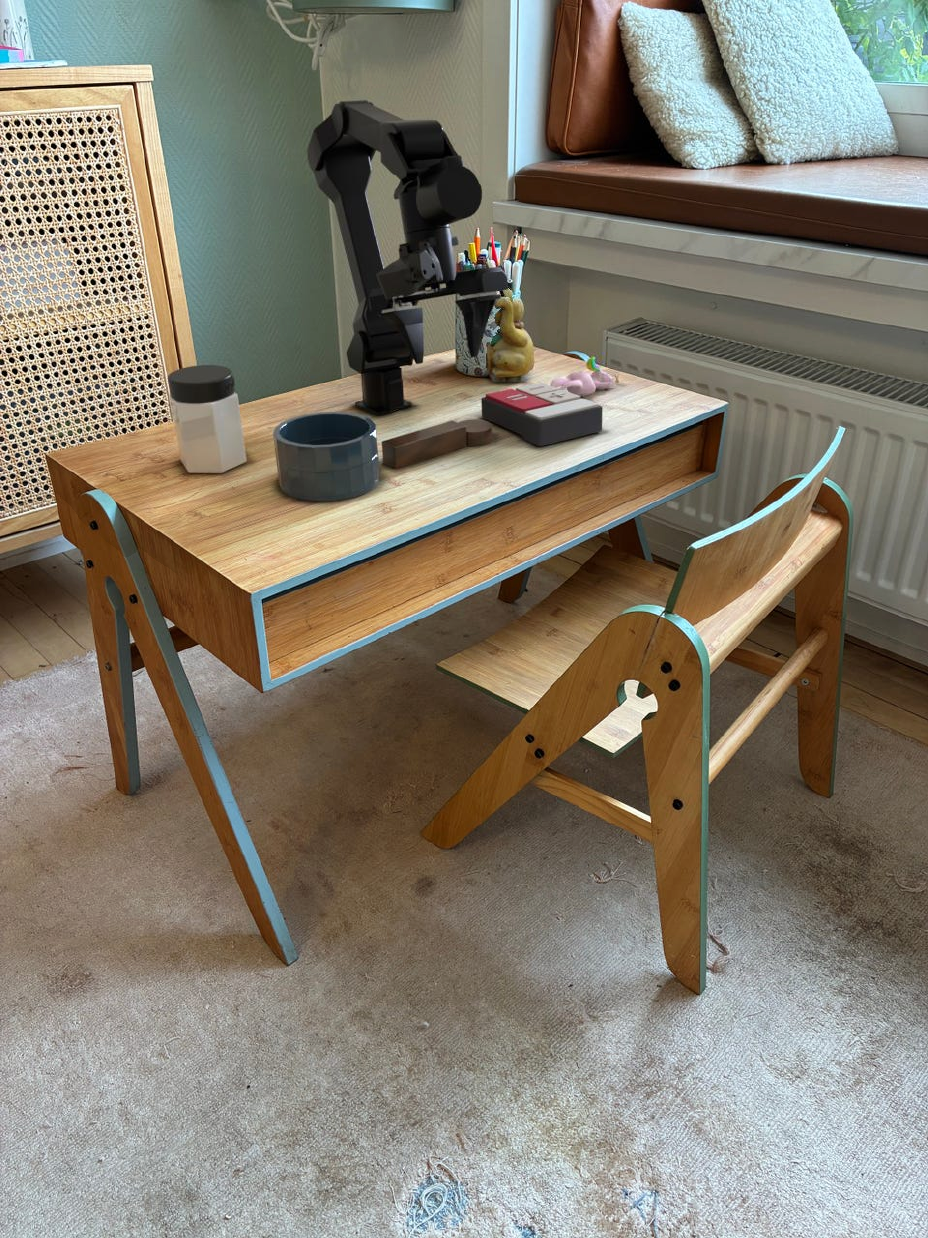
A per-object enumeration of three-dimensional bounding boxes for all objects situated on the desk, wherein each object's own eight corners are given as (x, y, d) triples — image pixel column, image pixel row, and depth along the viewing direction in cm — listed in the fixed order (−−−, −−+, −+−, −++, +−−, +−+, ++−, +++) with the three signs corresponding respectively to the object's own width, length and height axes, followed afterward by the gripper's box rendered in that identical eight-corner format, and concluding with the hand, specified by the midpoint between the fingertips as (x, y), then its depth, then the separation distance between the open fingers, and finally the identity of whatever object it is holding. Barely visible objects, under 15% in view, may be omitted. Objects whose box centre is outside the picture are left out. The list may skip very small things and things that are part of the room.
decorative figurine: (477, 370, 164) (476, 277, 156) (525, 366, 166) (526, 273, 158) (492, 387, 156) (492, 290, 148) (542, 383, 158) (544, 286, 150)
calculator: (541, 379, 147) (604, 400, 136) (542, 407, 149) (603, 431, 138) (479, 392, 142) (538, 415, 131) (480, 421, 145) (539, 447, 133)
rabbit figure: (593, 388, 159) (536, 396, 148) (598, 350, 156) (541, 356, 146) (625, 396, 155) (569, 405, 145) (631, 357, 153) (575, 364, 142)
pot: (261, 479, 126) (254, 427, 122) (343, 455, 132) (339, 404, 129) (314, 510, 117) (308, 455, 114) (399, 482, 124) (396, 429, 120)
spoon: (401, 471, 127) (399, 449, 125) (377, 460, 130) (376, 439, 129) (500, 439, 136) (500, 418, 135) (475, 430, 140) (475, 409, 138)
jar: (253, 467, 129) (240, 378, 123) (191, 479, 126) (175, 387, 120) (235, 446, 136) (223, 360, 130) (176, 456, 133) (160, 369, 127)
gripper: (329, 246, 122) (351, 374, 126) (444, 219, 110) (464, 361, 115) (388, 243, 130) (408, 363, 134) (501, 217, 118) (518, 350, 123)
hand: (446, 360), depth 126 cm, fingers open, 9 cm apart
